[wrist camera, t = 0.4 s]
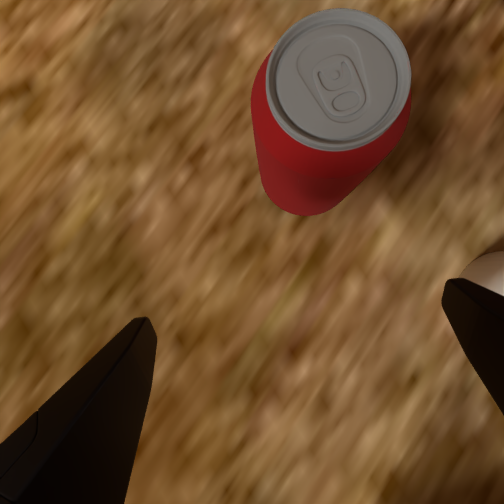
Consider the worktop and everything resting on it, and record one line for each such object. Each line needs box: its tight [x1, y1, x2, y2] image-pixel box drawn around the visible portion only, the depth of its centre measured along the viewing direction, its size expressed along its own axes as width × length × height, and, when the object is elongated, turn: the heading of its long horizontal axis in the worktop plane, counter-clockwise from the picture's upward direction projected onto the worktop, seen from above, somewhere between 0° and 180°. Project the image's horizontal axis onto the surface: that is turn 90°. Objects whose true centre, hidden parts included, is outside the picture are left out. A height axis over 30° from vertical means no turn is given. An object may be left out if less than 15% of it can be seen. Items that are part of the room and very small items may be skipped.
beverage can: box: [251, 8, 411, 216], centre depth 18 cm, size 7×7×12 cm
